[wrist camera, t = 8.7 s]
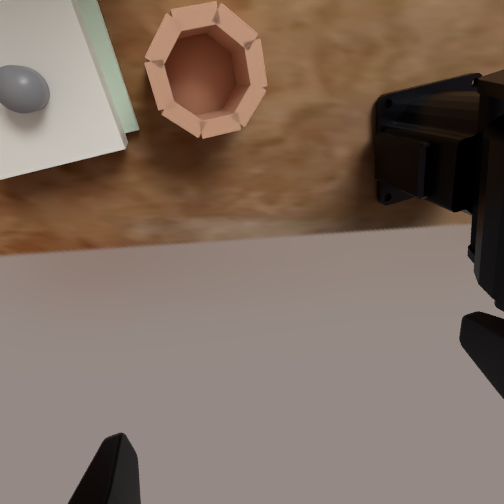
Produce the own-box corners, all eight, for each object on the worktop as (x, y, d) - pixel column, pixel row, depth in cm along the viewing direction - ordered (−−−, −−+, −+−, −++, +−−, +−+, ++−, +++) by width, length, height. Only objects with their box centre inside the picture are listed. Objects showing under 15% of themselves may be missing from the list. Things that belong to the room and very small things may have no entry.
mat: (74, -69, 13) (71, -74, 13) (139, 128, 17) (139, 129, 17) (-120, -39, 13) (-131, -44, 12) (-9, 162, 16) (-14, 165, 16)
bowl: (235, 10, 16) (253, -7, 13) (253, 115, 18) (272, 122, 15) (135, 29, 15) (130, 16, 12) (167, 135, 17) (169, 146, 14)
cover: (74, -8, 14) (56, -27, 11) (128, 142, 17) (123, 153, 14) (-72, 19, 13) (-123, 6, 11) (11, 171, 16) (-15, 187, 14)
